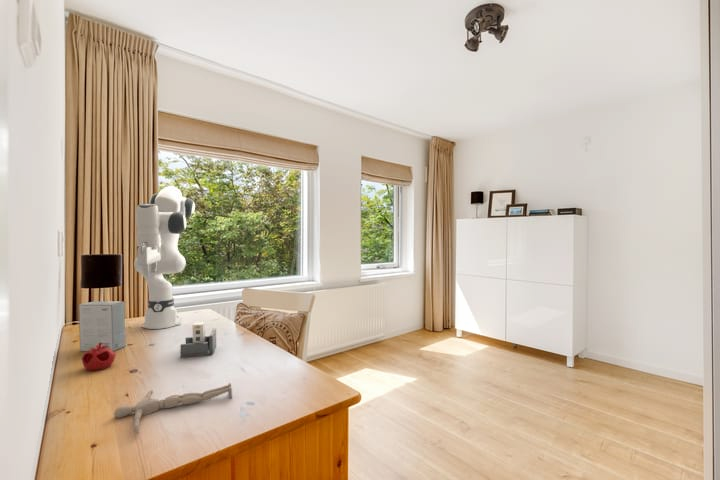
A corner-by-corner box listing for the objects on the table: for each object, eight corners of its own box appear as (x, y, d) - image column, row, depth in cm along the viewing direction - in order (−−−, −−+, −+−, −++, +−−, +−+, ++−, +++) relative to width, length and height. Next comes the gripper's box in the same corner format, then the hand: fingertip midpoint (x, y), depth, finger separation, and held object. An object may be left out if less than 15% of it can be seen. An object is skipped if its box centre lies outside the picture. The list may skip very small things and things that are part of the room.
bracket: (186, 348, 151) (186, 330, 151) (216, 346, 154) (216, 328, 154) (180, 357, 140) (180, 337, 140) (212, 354, 143) (212, 335, 143)
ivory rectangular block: (195, 347, 149) (194, 322, 149) (205, 347, 150) (204, 321, 150) (192, 351, 144) (192, 325, 144) (203, 350, 145) (203, 324, 145)
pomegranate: (90, 364, 134) (89, 340, 134) (120, 361, 137) (119, 337, 137) (76, 374, 125) (75, 348, 125) (108, 370, 127) (108, 345, 127)
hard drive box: (126, 346, 155) (125, 301, 154) (112, 352, 147) (111, 305, 147) (94, 345, 156) (93, 300, 156) (78, 351, 149) (77, 304, 148)
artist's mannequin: (229, 381, 120) (125, 401, 108) (228, 368, 120) (124, 387, 108) (235, 418, 95) (100, 450, 83) (234, 402, 95) (99, 431, 83)
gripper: (149, 242, 141) (151, 276, 141) (163, 240, 160) (164, 270, 161) (131, 243, 139) (133, 277, 140) (147, 241, 159) (149, 271, 159)
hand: (150, 274), depth 150 cm, fingers open, 8 cm apart
